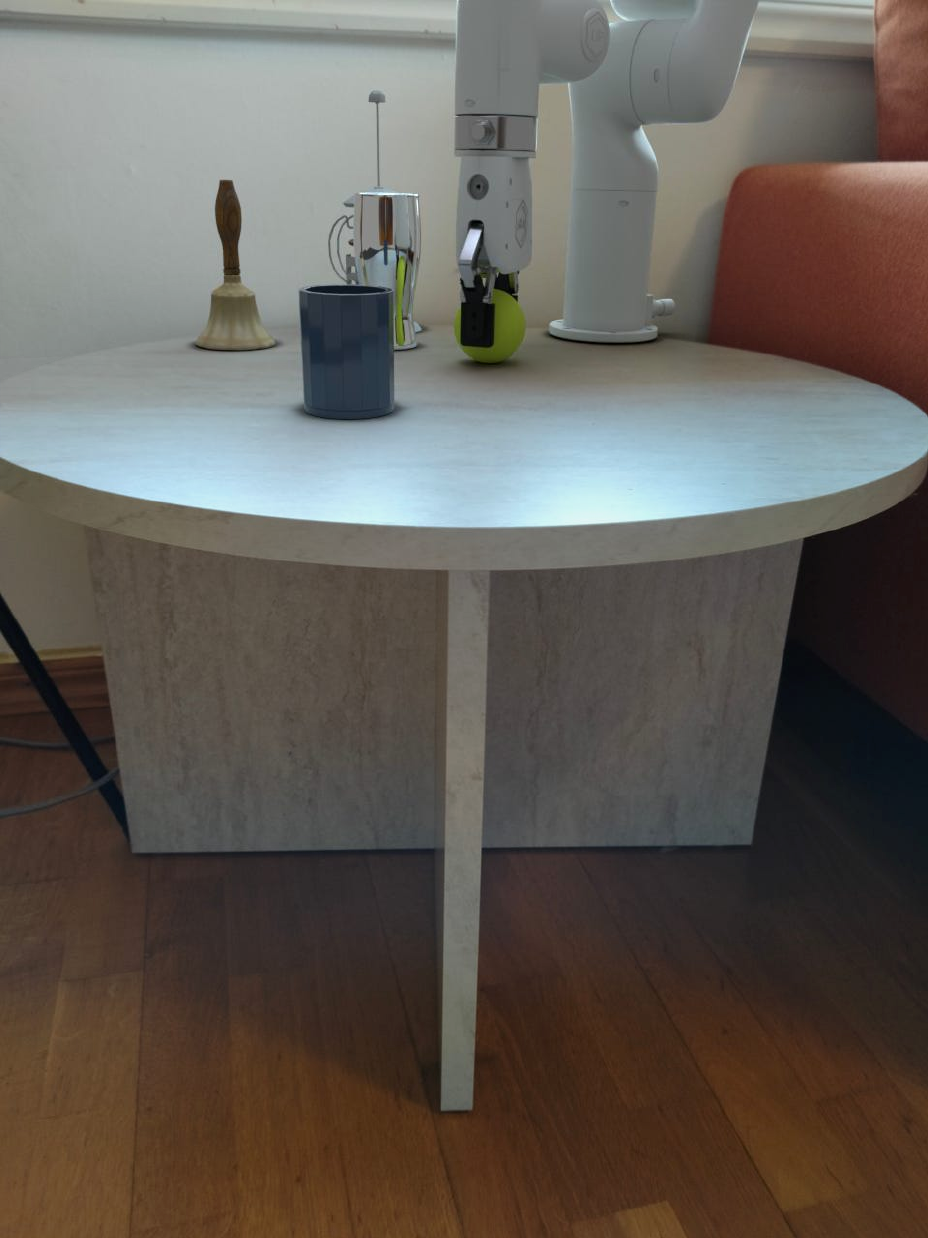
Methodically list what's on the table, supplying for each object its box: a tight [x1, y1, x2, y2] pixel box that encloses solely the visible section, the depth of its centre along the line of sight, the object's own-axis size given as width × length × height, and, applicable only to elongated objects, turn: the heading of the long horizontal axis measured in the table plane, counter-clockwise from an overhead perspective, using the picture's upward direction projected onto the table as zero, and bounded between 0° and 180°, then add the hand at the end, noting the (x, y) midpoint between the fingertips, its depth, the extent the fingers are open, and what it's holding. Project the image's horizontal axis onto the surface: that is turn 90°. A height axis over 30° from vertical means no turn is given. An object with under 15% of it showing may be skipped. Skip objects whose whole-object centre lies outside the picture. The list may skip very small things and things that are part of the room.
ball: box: [453, 289, 526, 364], centre depth 96 cm, size 7×7×7 cm
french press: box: [327, 89, 422, 333], centre depth 112 cm, size 10×12×25 cm
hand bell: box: [195, 179, 277, 351], centre depth 101 cm, size 8×8×16 cm
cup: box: [297, 283, 395, 420], centre depth 76 cm, size 7×7×9 cm
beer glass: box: [352, 192, 422, 351], centre depth 102 cm, size 7×7×15 cm
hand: (489, 339), depth 97 cm, fingers closed on ball, 6 cm apart
